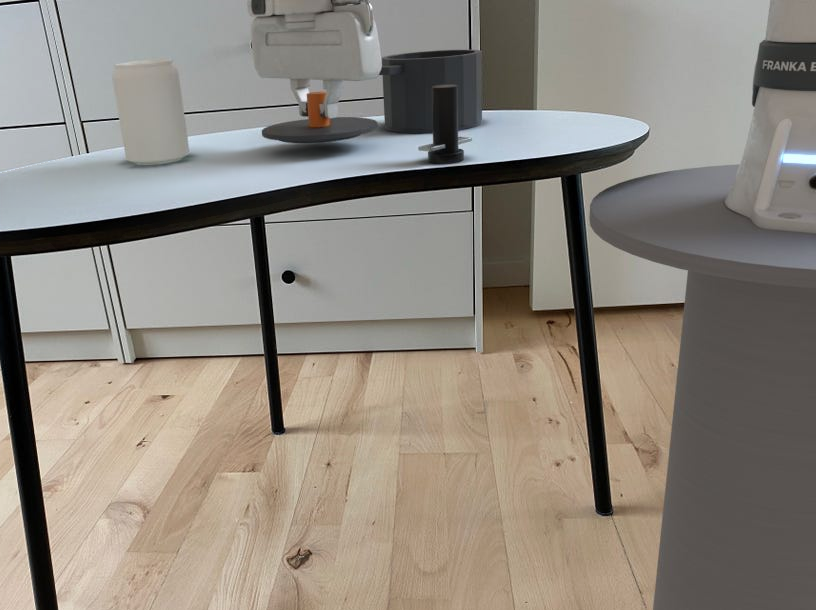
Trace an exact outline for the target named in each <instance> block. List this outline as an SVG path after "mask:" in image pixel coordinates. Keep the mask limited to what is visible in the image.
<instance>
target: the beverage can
mask: <svg viewBox="0 0 816 610" xmlns="http://www.w3.org/2000/svg"><path fill="white" fill-rule="evenodd" d="M173 61H174V60H173V59H169V58H166V59H164V58H163V59H147V60H146V59H145V60H134V61H128V62H127V61H126V62H121V63H115V64H114V65H113V67H114V70H113V72H112V75H111V78H112V84H113V85H112V86H113V90H114V96H115V97H114V98H115V102H116V108H117V115H118V120H119V126H120V132H121V138H122V143H123V148H124V155H125V159H126V160H127V161H128V162H130V163H134V164H135V165H138V166H156V165H157V166H158V165H164V164H171V163H176V162H179V161H181V160H182V159H183V158H184V157H186V156H188V155H190V147H189V137H188V132H187V124H186V118H185V110H184V102H183V96H182V87H181V81H180V75H179V70H178V68H177V67H176V65H174V62H173Z"/></svg>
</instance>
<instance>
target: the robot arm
mask: <svg viewBox="0 0 816 610" xmlns="http://www.w3.org/2000/svg"><path fill="white" fill-rule="evenodd" d="M246 6H247V13H248V16H250V17H252V18H254V19H253V20H252V22H251V24H250V25H251V26H250V40H251V50H252V57H253V58H252V59H253V65H254V69H255V71H256V72H257V75H258V76H259V77H260V78H262V79H283V80H284V79H287V80H288V79H289V85H290V89H291V92H292V93H293V95H294V97H295V99H296V101H297V103H298V114H299V116H300V117H305V118H307V117H308V105H307V93H311V92H310V90H309V87H311V81H313V80H315V81H316V80H318V81H322V89H323V90H326V91H325V92H326V95H325V99H324V103H321V104H319V108H320V116H321V117H322V118H328V119H331V118H336V117H339V102H340V99H341V97H342V94H343V91H344V81H345V82H362V81H369V80H370V81H371V80H375V79H377V78H378V77H379V76H380V75H379V73H380V71H381V68H382V53H381V45H380V38H379V33H378V27H377V23H376V20H375V17H374V15H375V14H374V7H373V5H372V4H371V3H370V1H369V0H247V3H246ZM768 8H769V9H768V13H767V15H768V16H767V23H766V24H767V25H766V31H765V39H763V40H762V41H760V42H759V45H758V51H757V56H756V57H757V58H756V62H755V65H754V70H753V71H754V72H753V76H752V77H753V78H752V96H751V97H752V98H751V105H752V107H753V112H752V117H751V122H750V125H749V131H748V133H747V138H746V141H745V146H744V149H743V152H742V156H741V159H740V162H739V164H740V165H739V168H738V171H737V174H736V176H735V179H734V182H733V184H732V186H731V189H730V191H729V193H728V195H727V198H726V200H725V205H726V206H727V207H728V208H729V209H730V210H732V211H734V212H736V213H739V214H741V215H743V216H746V217H748V218H750V219H751V221H752V222H753V223H754V225H756V226H757V227H759V228H763V229H769V230H780V231H791V232H802V233H813V234H816V0H769V7H768Z"/></svg>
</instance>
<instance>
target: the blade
mask: <svg viewBox="0 0 816 610" xmlns="http://www.w3.org/2000/svg"><path fill="white" fill-rule="evenodd" d="M432 120H433V133H432V143H428V144H425V145H421V146H418V151H420V152H421V151H422V152H427V161H428V163H431V164H438V165H441V164H444V165H445V164H456V163H460V162H463V161H464V160H465V150H464V149H462V148H459V145H462V144H463V145H464V144H466V143H470V142H473V137H469V136H459V130H458V86H457V85H437V86H433V87H432Z"/></svg>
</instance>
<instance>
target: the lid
mask: <svg viewBox="0 0 816 610" xmlns="http://www.w3.org/2000/svg"><path fill="white" fill-rule="evenodd" d="M325 95H326V91H312V92H310V93H307V105H308V118H306V119H305V118H304V119H297V120H291V121H285V122H280V123H275V124H272V125H268V126H266V127H263V129H261V136H262V137H263V138H265V139H268V140H273V141H279V142H282V143H288V144H317V143H318V144H321V143H331V142H338V141H345V140H349V139H354V138H357V137H360V136H362V135H365V134H368V133H372V132H374V131H376V130H377V129H378V121H377V120H375V119H373V118H367V117H356V116H355V117H353V116H337V117H336V118H331V119H328V118H322V117H321V116H320V108H319V104H321V103H324V99H325Z"/></svg>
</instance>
